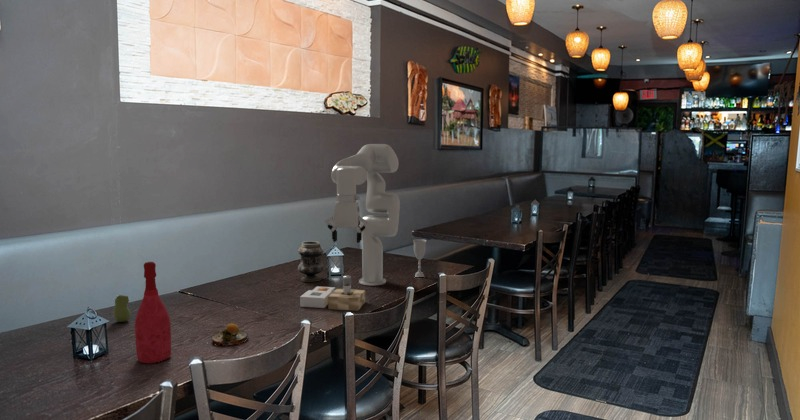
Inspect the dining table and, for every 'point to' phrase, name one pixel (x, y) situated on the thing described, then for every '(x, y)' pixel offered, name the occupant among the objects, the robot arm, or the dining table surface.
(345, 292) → the drill bit
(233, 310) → the dining table surface
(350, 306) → the block
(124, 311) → the pear
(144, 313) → the wine bottle
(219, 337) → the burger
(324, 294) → the socket block
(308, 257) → the apothecary jar
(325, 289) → the release plunger
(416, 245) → the chalice
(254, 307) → the dining table surface
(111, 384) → the dining table surface
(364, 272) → the robot arm
